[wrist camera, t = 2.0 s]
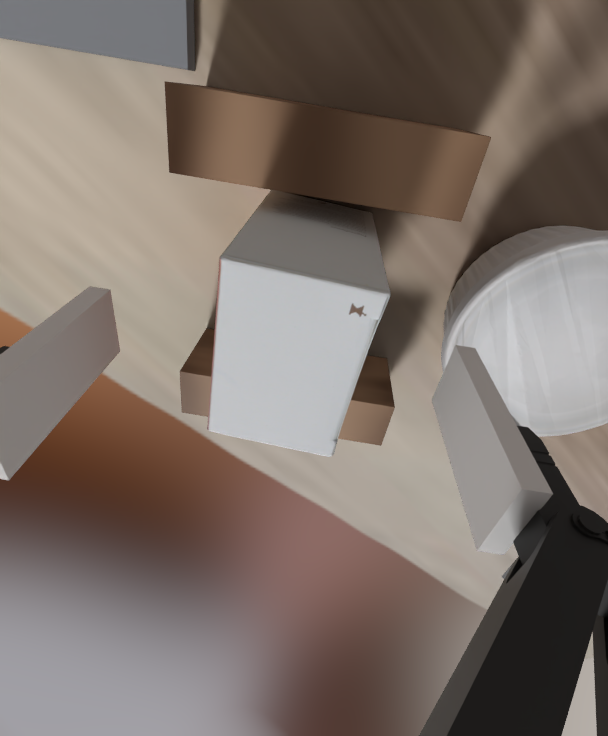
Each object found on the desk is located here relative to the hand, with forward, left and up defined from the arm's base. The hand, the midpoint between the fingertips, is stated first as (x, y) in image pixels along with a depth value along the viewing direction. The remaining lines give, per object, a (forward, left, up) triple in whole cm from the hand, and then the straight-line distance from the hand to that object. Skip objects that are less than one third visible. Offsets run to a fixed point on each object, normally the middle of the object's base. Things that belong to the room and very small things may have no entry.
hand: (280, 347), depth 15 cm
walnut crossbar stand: (0, 0, -9) cm, 9 cm away
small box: (0, 0, -9) cm, 9 cm away
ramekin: (-13, 0, -9) cm, 16 cm away
